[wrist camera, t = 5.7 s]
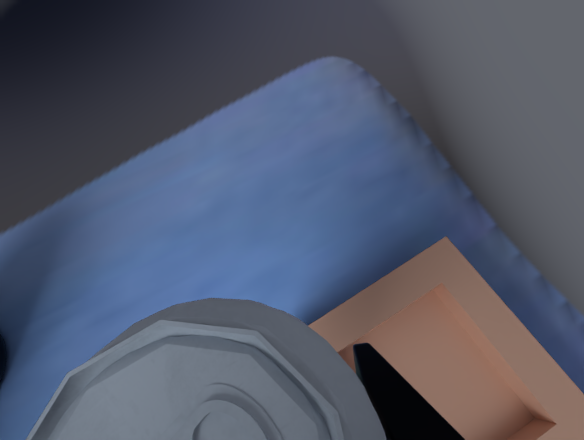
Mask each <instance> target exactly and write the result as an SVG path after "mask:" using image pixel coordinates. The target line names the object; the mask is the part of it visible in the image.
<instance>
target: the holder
mask: <svg viewBox="0 0 584 440" xmlns="http://www.w3.org/2000/svg"><path fill="white" fill-rule="evenodd" d="M308 326H309V327H310V328H311V329H312V330H314V331H315V332H316V333H318V334H319V335H320V336H321V337H323V338H324V339H325V340H327V341H328V343H329V344H330V345H331V346H332V347H333V348H334V349H335V351H336V352H337V353H338V354H339V355H340V356H341V357H342V359H343V360H344V361H345V362H346V363H347V364H348V365H349V367H350V368H351V369H352V370H353V371H354V372H355V373H356V369H355V362H354V355H353V345H354V344H359V343H369V344H371V345H372V346H373V347H374V348H375V349H376V350H377V351H378V352H379V353H380V354H381V355H382V356H383V357H384V358H385V359H386V360H387V361H388V362H389V363H390V364H391V365H392V366H393V367H394V368H395V369H396V370H397V371H398V372H399V373H400V374H401V375H402V376H403V377H404V378H405V379H406V380H407V381H408V382H409V383H410V384H411V385H412V386H413V387H414V388H415V389H416V390H417V391H418V392H419V393H420V394H421V395H422V396H423V397H424V398H425V399H426V400H427V401H428V403H429V404H430V405H431V406H432V407H433V408H434V409H435V410H436V411H437V412H438V413H439V414H440V415H441V416H442V417H443V418H444V419H445V420H446V421H447V422H448V423H449V424H450V425H451V426H452V427H453V428H454V429H455V430H456V431H457V432H458V433H459V434H460V435H461V436H462V437H463V438H464V439H465V440H584V394H583V393H582V391H581V390H580V389H579V388H578V387H577V386H576V385H575V383H574V382H573V381H572V380H571V379H570V378H569V377H568V375H567V374H566V373H565V372H564V371H563V370H562V369H561V367H560V366H559V365H558V364H557V363H556V362H555V360H554V359H553V358H552V357H551V356H550V355H549V354H548V352H547V351H546V350H545V349H544V348H543V347H542V346H541V344H540V343H539V342H538V341H537V340H536V339H535V338H534V336H533V335H532V334H531V333H530V332H529V331H528V329H527V328H526V327H525V326H524V325H523V324H522V323H521V321H520V320H519V319H518V318H517V317H516V316H515V315H514V313H513V312H512V311H511V310H510V309H509V308H508V307H507V305H506V304H505V303H504V302H503V301H502V300H501V298H500V297H499V296H498V295H497V294H496V293H495V292H494V290H493V289H492V288H491V287H490V286H489V285H488V284H487V282H486V281H485V280H484V279H483V278H482V277H481V276H480V274H479V273H478V272H477V271H476V270H475V269H474V267H473V266H472V265H471V264H470V263H469V262H468V261H467V259H466V258H465V257H464V256H463V255H462V254H461V253H460V251H459V250H458V249H457V248H456V247H455V246H454V245H453V243H452V242H451V241H450V240H449V239H448V238H447V236H446V237H444V238H443V239H441V240H440V241H438V242H436V243H435V244H433V245H432V246H430V247H429V248H427V249H426V250H424V251H423V252H421V253H420V254H418V255H416V256H415V257H413V258H412V259H410V260H409V261H407V262H406V263H404V264H403V265H401V266H399V267H398V268H396V269H395V270H393V271H392V272H390V273H389V274H387V275H386V276H384V277H382V278H381V279H379V280H378V281H376V282H375V283H373V284H372V285H370V286H369V287H367V288H365V289H364V290H362V291H361V292H359V293H358V294H356V295H355V296H353V297H352V298H350V299H348V300H347V301H345V302H344V303H342V304H341V305H339V306H338V307H336V308H335V309H333V310H332V311H330V312H328V313H327V314H325V315H324V316H322V317H321V318H319V319H318V320H316V321H315V322H313V323H311V324H310V325H308Z"/></svg>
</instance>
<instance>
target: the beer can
mask: <svg viewBox="0 0 584 440" xmlns="http://www.w3.org/2000/svg"><path fill="white" fill-rule="evenodd" d="M26 440H386V436H385V432H384V429H383V427H382V424H381V422H380V420H379V417H378V415H377V413H376V411H375V409H374V407H373V405H372V403H371V401H370V399H369V396H368V394H367V392H366V390H365V388H364V386H363V384H362V383H361V381H360V380H359V378H358V376H357V375H356V373H355V372H354V371H353V370H352V369H351V368H350V367H349V365H348V364H347V363H346V362H345V361H344V360H343V359H342V357H341V356H340V355H339V354H338V353H337V352H336V351H335V349H334V348H333V347H332V346H331V345H330V344H329V343H328V341H327V340H325V339H324V338H323V337H321V336H320V335H319V334H318V333H316V332H315V331H314V330H312V329H311V328H310V327H309V326H307V325H306V324H305V323H303V322H302V321H301V320H299V319H298V318H296V317H294V316H292V315H290V314H288V313H286V312H284V311H281V310H278V309H275V308H272V307H269V306H267V305H264V304H262V303H259V302H255V301H251V300H240V299H221V298H208V299H203V300H197V301H192V302H186V303H181V304H176V305H174V306H171V307H169V308H166V309H164V310H161V311H159V312H157V313H155V314H153V315H151V316H149V317H147V318H145V319H143V320H141V321H139V322H136V323H134V324H133V325H132V326H130V327H129V328H128V329H127V330H125V331H124V332H123V333H122V334H120V335H119V336H118V337H116V338H115V339H114V340H113V341H111V342H110V343H109V344H108V345H106V346H105V347H104V348H102V349H101V350H100V351H99V352H97V353H96V354H95V355H94V356H93V357H91V358H90V359H89V360H88V361H87V362H86V363H84V364H82V365H80V366H79V367H77V368H75V369H73V370H72V371H70V372H68V373H67V374H66V376H65V377H64V379H63V381H62V382H61V384H60V385H59V387H58V389H57V390H56V392H55V393H54V395H53V397H52V398H51V400H50V401H49V403H48V405H47V406H46V408H45V409H44V411H43V413H42V414H41V416H40V417H39V419H38V421H37V422H36V424H35V426H34V427H33V429H32V430H31V432H30V434H29V435H28V437H27V438H26Z"/></svg>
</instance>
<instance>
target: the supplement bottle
mask: <svg viewBox="0 0 584 440" xmlns="http://www.w3.org/2000/svg"><path fill="white" fill-rule="evenodd" d="M5 364H6V347H5V343H4V340H3V338H2V336H1V334H0V381H1V379H2V376H3V373H4V369H5Z"/></svg>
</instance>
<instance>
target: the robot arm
mask: <svg viewBox="0 0 584 440" xmlns="http://www.w3.org/2000/svg"><path fill="white" fill-rule="evenodd" d="M353 355H354V362H355V369H356V375H357V376H358V378H359V380H360V381H361V383H362V384H363V386H364V388H365V390H366V392H367V394H368V396H369V399H370V401H371V403H372V405H373V407H374V409H375V411H376V413H377V415H378V417H379V420H380V422H381V424H382V427H383V429H384V432H385V436H386V440H465V439H464V438H463V437H462V436H461V435H460V434H459V433H458V432H457V431H456V430H455V429H454V428H453V427H452V426H451V425H450V424H449V423H448V422H447V421H446V420H445V419H444V418H443V417H442V416H441V415H440V414H439V413H438V412H437V411H436V410H435V409H434V408H433V407H432V406H431V405H430V404H429V403H428V401H427V400H426V399H425V398H424V397H423V396H422V395H421V394H420V393H419V392H418V391H417V390H416V389H415V388H414V387H413V386H412V385H411V384H410V383H409V382H408V381H407V380H406V379H405V378H404V377H403V376H402V375H401V374H400V373H399V372H398V371H397V370H396V369H395V368H394V367H393V366H392V365H391V364H390V363H389V362H388V361H387V360H386V359H385V358H384V357H383V356H382V355H381V354H380V353H379V352H378V351H377V350H376V349H375V348H374V347H373V346H372V345H371V344H369V343H359V344H354V345H353Z"/></svg>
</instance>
